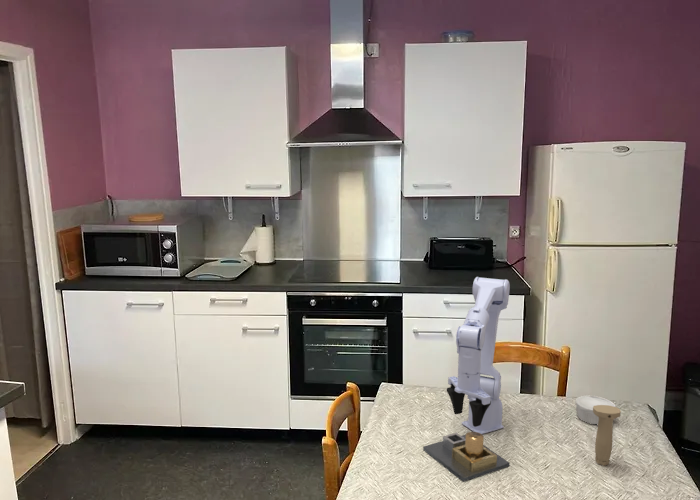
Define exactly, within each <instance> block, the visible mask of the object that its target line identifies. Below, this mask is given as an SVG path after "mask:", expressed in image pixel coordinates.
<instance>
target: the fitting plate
mask: <svg viewBox="0 0 700 500" xmlns="http://www.w3.org/2000/svg"><path fill="white" fill-rule="evenodd" d="M466 434H467V433H466ZM466 434H462V435H461V434H459V433H458V432H454V433H453V432H452V433H449V434H447V435H444V436H442V440H441V441H437V442H435V443H431V444H428V445H424V446H423V447H422V449H423V451H424V452H425V454H427V455H429V456H430V457H431V458H432V459H434V460H435V461H436V462H438V463H439V464H440V465H441V466H442V467H444V468H445V469H447V470H448V471H449V472H450V473H451V474H453V475H454V476H455V477H456V478H458V479H459V480H460V481H461V482H463V483H465V482H468V481H470V480H473V479H476V478H479V477H482V476H485V475H488V474H491V473H493V472H497V471H500V470H503V469H506V468H508V467H509V468H510V465H511V463H510V461H508V460H506V459H505V458H503V457H502V456H500V455H499V454H497V453H496V452H495V451H493V450H491V449H490V448H488V447H487V446H486V445H484V444H483V457H482V458H479V459H476V460H472V459H470V458H469V457H468V456H466V455H465V440H466Z"/></svg>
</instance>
